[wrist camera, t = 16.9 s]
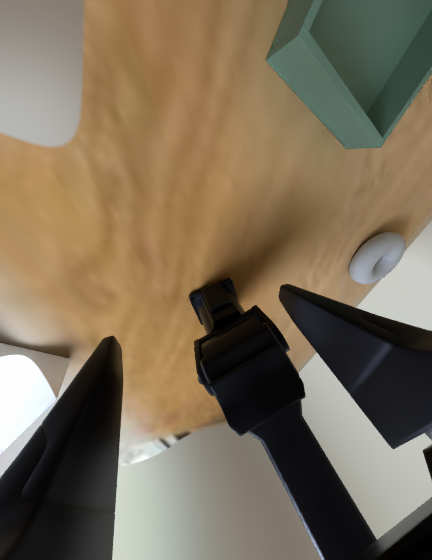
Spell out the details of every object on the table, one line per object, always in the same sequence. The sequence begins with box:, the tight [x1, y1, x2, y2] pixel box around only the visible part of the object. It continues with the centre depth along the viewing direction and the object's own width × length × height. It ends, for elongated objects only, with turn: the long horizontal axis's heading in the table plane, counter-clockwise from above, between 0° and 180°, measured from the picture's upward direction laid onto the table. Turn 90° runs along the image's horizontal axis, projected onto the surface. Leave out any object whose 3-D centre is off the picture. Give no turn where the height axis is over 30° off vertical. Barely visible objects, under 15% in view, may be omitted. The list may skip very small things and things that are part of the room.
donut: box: [349, 232, 405, 284], centre depth 33 cm, size 10×3×10 cm
